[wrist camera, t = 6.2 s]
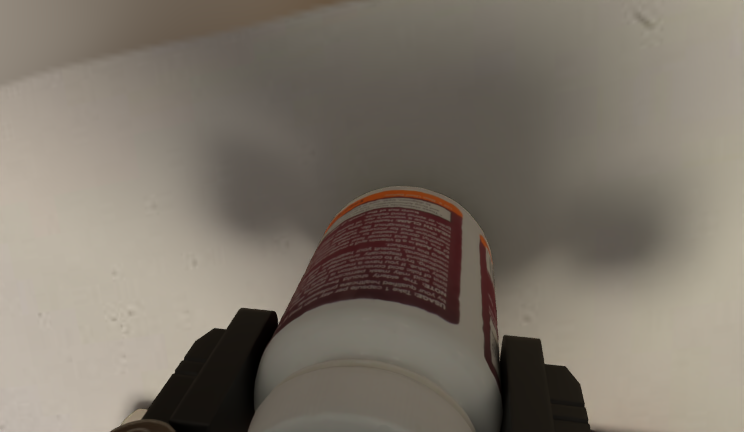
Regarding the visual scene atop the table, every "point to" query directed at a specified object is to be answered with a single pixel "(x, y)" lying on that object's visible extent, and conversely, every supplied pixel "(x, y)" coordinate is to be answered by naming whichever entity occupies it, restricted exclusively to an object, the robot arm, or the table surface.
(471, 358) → the pill bottle
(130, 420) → the pepper shaker
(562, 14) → the table surface
